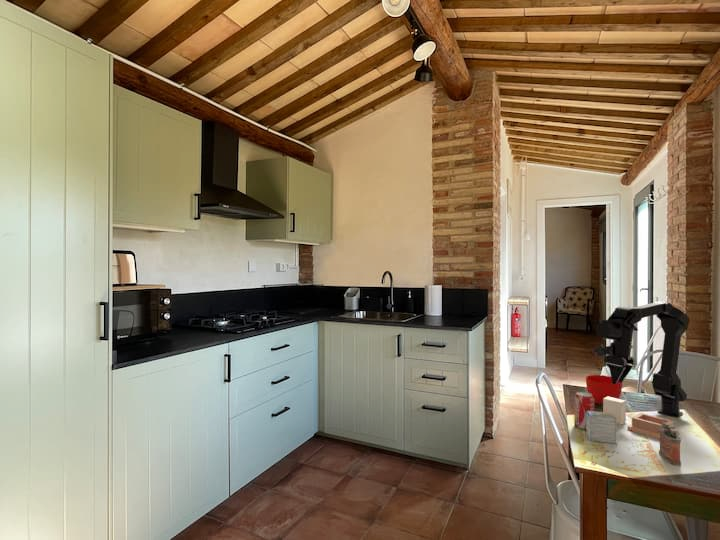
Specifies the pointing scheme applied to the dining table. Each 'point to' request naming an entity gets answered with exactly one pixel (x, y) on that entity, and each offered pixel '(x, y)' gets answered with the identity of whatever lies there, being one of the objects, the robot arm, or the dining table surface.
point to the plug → (615, 408)
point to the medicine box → (601, 426)
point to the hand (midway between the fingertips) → (617, 383)
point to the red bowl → (602, 387)
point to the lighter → (669, 445)
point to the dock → (649, 424)
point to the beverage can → (582, 408)
